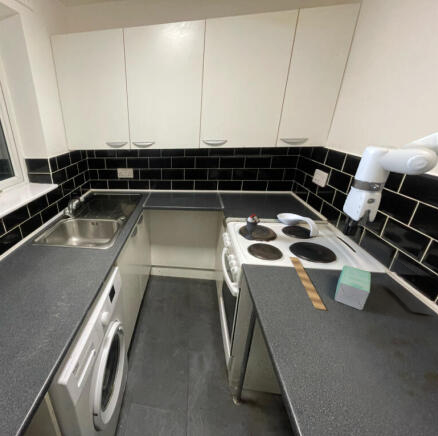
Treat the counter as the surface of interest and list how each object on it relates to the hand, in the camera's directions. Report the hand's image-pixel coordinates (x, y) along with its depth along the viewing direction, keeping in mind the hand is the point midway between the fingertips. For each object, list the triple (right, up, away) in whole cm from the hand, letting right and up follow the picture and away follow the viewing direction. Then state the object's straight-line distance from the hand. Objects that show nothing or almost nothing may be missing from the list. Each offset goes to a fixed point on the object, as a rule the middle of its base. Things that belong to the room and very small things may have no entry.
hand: (348, 234), depth 82 cm
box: (-2, -21, -3) cm, 21 cm away
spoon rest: (+10, +1, +44) cm, 45 cm away
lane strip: (-12, -18, +5) cm, 22 cm away
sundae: (-20, -4, +35) cm, 41 cm away
